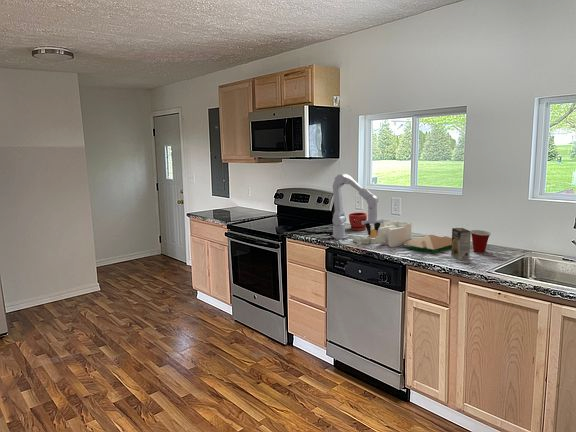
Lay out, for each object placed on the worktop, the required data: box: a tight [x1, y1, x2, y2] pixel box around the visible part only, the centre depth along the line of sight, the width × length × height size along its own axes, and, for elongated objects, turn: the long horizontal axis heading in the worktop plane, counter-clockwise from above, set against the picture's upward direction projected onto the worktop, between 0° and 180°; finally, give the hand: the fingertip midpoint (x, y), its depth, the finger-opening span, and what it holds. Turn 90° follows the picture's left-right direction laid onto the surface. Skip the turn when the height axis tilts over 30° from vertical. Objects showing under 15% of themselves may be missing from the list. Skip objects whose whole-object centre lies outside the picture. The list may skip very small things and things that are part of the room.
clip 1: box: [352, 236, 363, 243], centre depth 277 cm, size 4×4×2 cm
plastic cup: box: [470, 229, 491, 254], centre depth 242 cm, size 11×11×12 cm
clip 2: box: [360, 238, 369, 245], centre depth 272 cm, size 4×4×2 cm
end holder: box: [363, 235, 378, 244], centre depth 276 cm, size 9×9×2 cm
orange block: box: [367, 229, 378, 239], centre depth 278 cm, size 6×4×5 cm, turn 12°
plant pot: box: [348, 212, 368, 231], centre depth 315 cm, size 13×13×12 cm
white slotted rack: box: [370, 218, 412, 241], centre depth 286 cm, size 25×11×11 cm, turn 39°
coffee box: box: [450, 227, 472, 261], centre depth 231 cm, size 9×6×16 cm
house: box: [402, 234, 452, 255], centre depth 257 cm, size 23×33×8 cm
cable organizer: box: [377, 225, 407, 248], centre depth 264 cm, size 15×11×12 cm
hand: (372, 234), depth 277 cm, fingers closed on orange block, 4 cm apart
